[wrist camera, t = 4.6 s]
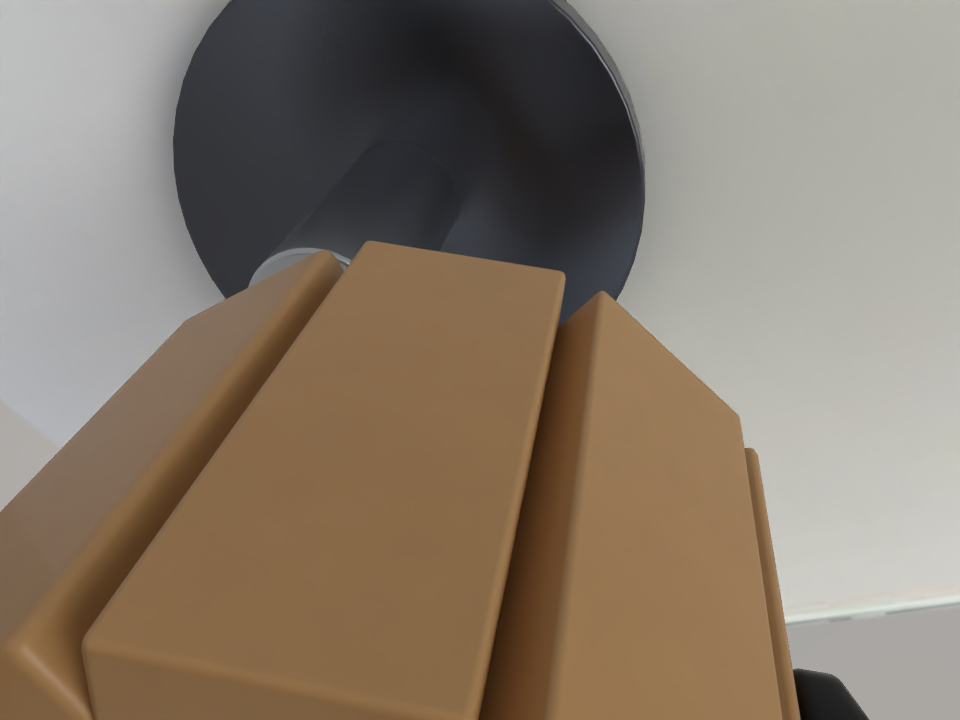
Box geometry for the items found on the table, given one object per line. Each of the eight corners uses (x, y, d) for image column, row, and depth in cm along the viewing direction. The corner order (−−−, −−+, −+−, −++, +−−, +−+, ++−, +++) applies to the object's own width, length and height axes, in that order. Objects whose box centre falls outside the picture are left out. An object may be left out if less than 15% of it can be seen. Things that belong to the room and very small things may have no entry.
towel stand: (435, 452, 23) (366, 645, 18) (112, 183, 21) (-82, 308, 16) (748, 186, 19) (787, 335, 13) (378, -195, 16) (235, -210, 11)
